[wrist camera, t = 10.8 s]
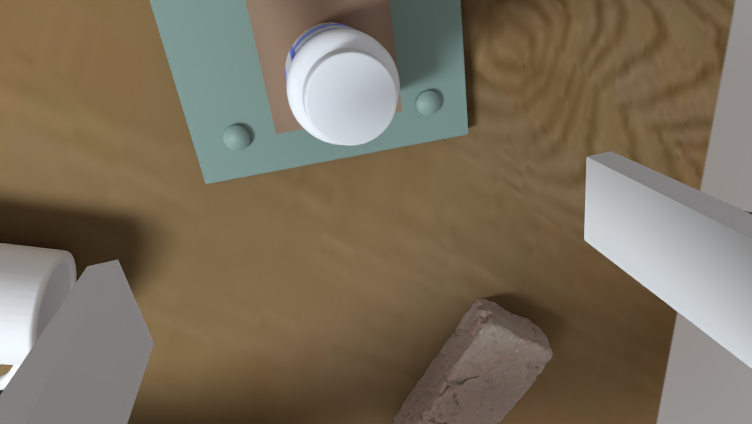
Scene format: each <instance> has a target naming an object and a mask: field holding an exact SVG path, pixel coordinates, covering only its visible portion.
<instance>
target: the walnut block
mask: <svg viewBox="0 0 752 424" xmlns="http://www.w3.org/2000/svg"><path fill="white" fill-rule="evenodd" d="M246 4H247V9H248V13H249V17H250V22H251V26H252V30H253V35H254V39H255V44H256V48H257V52H258V57H259V61H260V65H261V70H262V74H263V79H264V83H265V87H266V92H267V96H268V100H269V105H270V109H271V114H272V118H273V122H274V127H275V131H276V134H279V133H285V132H290V131H296V130H301V129H304V128H303V127H302V126H301V125H300V124H299V122H298V121H297V120H296V118H295V116H294V115H293V113H292V110H291V108H290V105H289V102H288V97H287V91H286V79H285V64H286V59H287V55H288V52H289V50H290V48H291V46H292V44H293V43H294V41H295V40H296V39H297V38H298V36H299V35H300V34H302V33H303V32H304V31H305V30H307V29H308V28H310V27H312V26H314V25H317V24H319V23H328V22H332V23H340V24H344V25H346V26H349V27H351V28H354V29H356V30H358V31H361V32H363V33H365V34H367V35H369V36H371V37H372V38H374V39H375V40H376V41H378V42H379V43H380V44H381V45H382V46H383V47H384V48H385V49H386V50H387V52H388V53H389V54H390V56H391V57H392V59H393V61H394V63H395V65H396V68H397V62H396V53H395V44H394V36H393V27H392V18H391V9H390V0H246ZM400 111H402V106H401V97H400V92H399V100H398V104H397V108H396V112H400Z"/></svg>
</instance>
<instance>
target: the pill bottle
mask: <svg viewBox="0 0 752 424" xmlns="http://www.w3.org/2000/svg"><path fill="white" fill-rule="evenodd" d="M285 79H286V91H287V97H288V102H289V105H290V108H291V110H292V113H293V115H294V116H295V118H296V120H297V121H298V122H299V124H300V125H301V126H302V127H303V128H304V129H305V130H306V131H307V132H309V133H310V134H311V135H313V136H314V137H316V138H318V139H319V140H322V141H324V142H327V143H330V144H336V145H347V146H354V145H361V144H364V143H367V142H369V141H372V140H373V139H375V138H377V137H378V136H379V135H380V134H382V133H383V132H384V131H385V129H386V128H387V127H388V126H389V124H390V123H391V121H392V119H393V117H394V114H395V112H396V108H397V104H398V100H399V92H400V82H399V75H398V71H397V68H396V65H395V63H394V61H393V59H392V57H391V56H390V54H389V53H388V52H387V50H386V49H385V48H384V47H383V46H382V45H381V44H380V43H379V42H378V41H376V40H375V39H374V38H372V37H371V36H369V35H367V34H365V33H363V32H361V31H358V30H356V29H354V28H351V27H349V26H346V25H344V24H340V23H332V22H328V23H319V24H317V25H314V26H312V27H310V28H308V29H307V30H305V31H304V32H303V33H302V34H300V35H299V36H298V38H297V39H296V40H295V41H294V43H293V44H292V46H291V48H290V50H289V52H288V55H287V59H286V64H285Z"/></svg>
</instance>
